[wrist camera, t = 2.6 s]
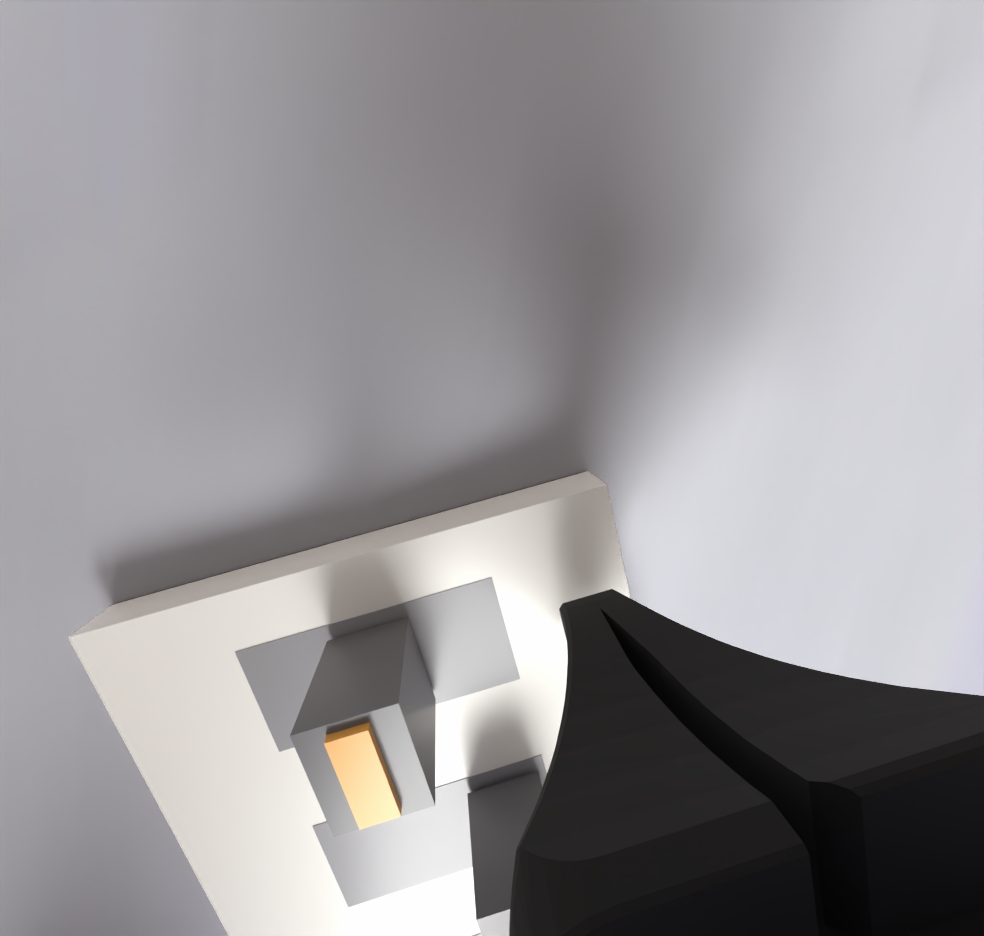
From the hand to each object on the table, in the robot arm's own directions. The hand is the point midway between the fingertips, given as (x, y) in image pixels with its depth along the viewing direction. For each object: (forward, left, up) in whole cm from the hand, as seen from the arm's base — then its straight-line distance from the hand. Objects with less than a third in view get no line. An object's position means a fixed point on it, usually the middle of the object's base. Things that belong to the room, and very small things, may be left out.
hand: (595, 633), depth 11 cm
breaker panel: (-5, -5, -3) cm, 8 cm away
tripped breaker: (-5, 0, -1) cm, 5 cm away
